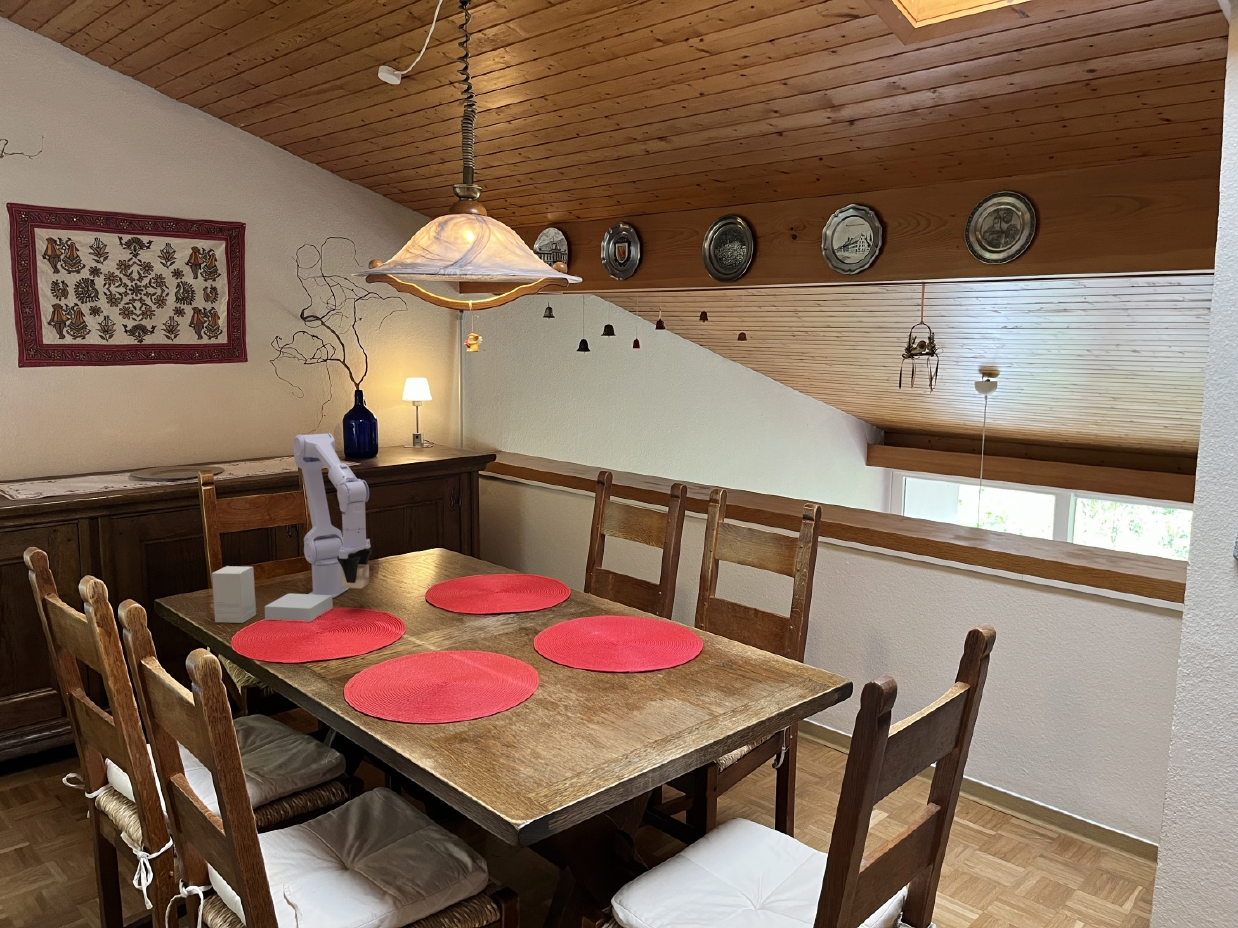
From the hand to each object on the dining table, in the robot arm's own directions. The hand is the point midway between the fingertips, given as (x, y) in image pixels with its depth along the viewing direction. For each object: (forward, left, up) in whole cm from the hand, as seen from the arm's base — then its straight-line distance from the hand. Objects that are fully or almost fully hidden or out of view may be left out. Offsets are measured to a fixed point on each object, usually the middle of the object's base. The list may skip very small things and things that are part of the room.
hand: (355, 579), depth 236 cm
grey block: (+7, -12, -8) cm, 16 cm away
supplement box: (+13, -26, -8) cm, 30 cm away
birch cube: (0, 0, -2) cm, 2 cm away
